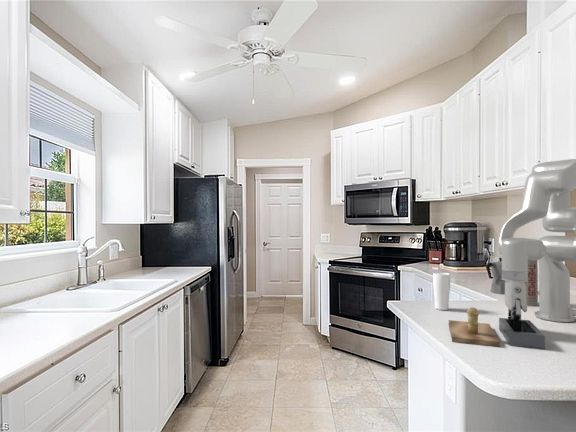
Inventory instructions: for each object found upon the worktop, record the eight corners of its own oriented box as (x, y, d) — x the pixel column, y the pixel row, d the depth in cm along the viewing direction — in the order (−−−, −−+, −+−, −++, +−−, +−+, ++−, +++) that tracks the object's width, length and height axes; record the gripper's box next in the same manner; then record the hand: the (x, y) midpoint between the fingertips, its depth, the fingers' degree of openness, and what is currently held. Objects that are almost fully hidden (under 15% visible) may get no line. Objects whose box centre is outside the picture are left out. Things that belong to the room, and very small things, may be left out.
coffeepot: (504, 290, 195) (503, 256, 195) (519, 293, 186) (519, 258, 186) (479, 291, 191) (479, 257, 191) (493, 295, 182) (493, 259, 182)
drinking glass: (452, 311, 151) (452, 275, 151) (434, 310, 152) (434, 274, 152) (448, 307, 157) (448, 272, 157) (431, 306, 159) (431, 272, 159)
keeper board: (489, 328, 128) (488, 300, 128) (499, 346, 109) (499, 314, 109) (448, 324, 133) (448, 297, 133) (452, 341, 114) (452, 310, 114)
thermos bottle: (539, 306, 158) (539, 242, 158) (518, 305, 161) (518, 241, 161) (535, 302, 166) (534, 241, 166) (514, 301, 169) (514, 240, 169)
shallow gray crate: (499, 329, 127) (499, 317, 127) (529, 332, 123) (529, 320, 123) (509, 345, 111) (509, 332, 111) (544, 349, 107) (544, 335, 107)
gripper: (533, 280, 115) (534, 338, 115) (521, 273, 131) (521, 324, 130) (506, 279, 118) (506, 336, 118) (497, 272, 133) (497, 322, 133)
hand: (514, 329), depth 124 cm, fingers open, 2 cm apart
